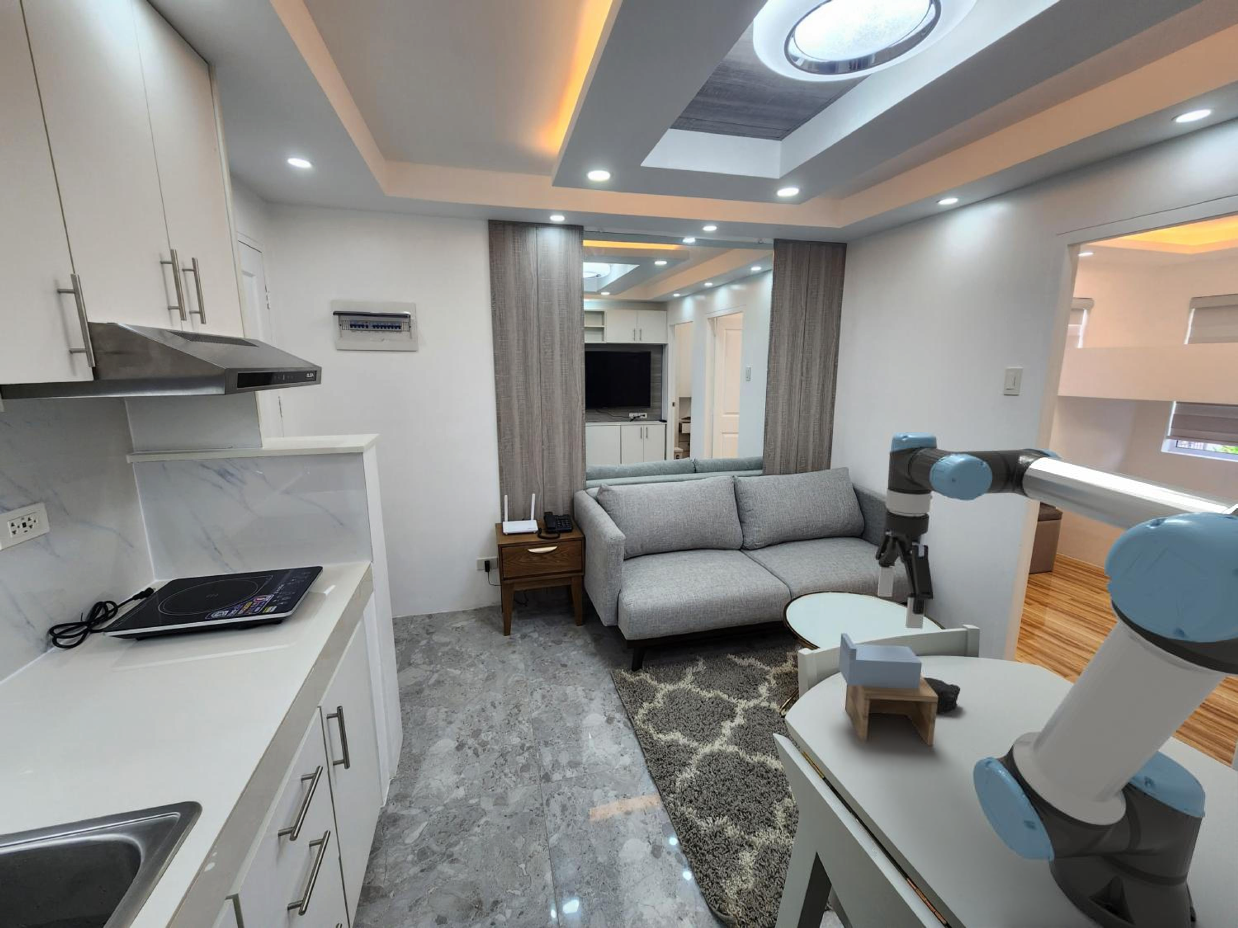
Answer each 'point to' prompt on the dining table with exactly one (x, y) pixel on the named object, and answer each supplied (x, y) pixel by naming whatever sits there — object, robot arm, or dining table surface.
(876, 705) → the open wooden crate
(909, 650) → the lidded box
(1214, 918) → the dining table surface
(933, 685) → the rock
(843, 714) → the dining table surface
